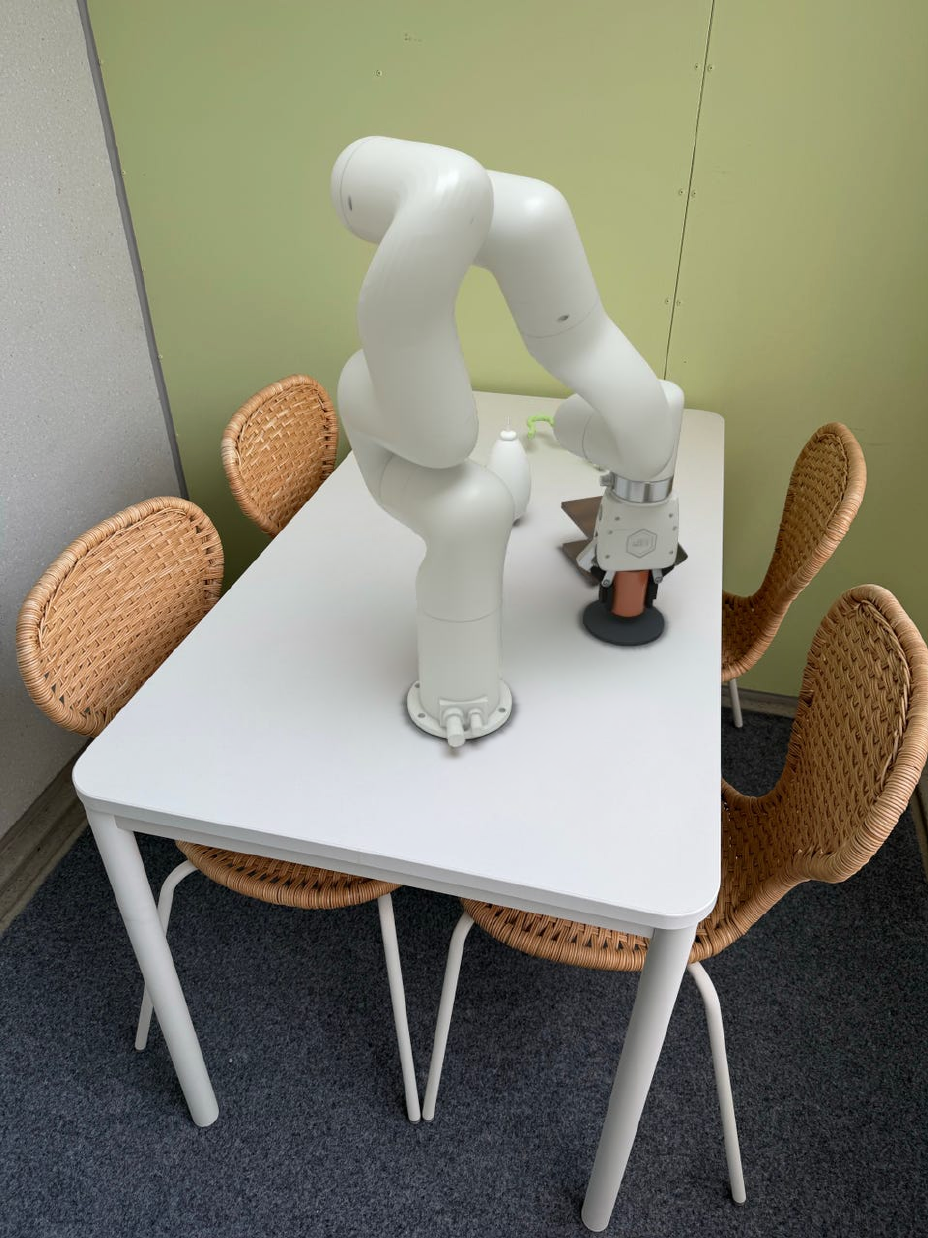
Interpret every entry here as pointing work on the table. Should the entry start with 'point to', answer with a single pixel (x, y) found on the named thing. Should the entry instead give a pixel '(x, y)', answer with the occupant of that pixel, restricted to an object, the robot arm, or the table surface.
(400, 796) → the table surface
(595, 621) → the coaster
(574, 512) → the stand
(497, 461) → the sauce bottle
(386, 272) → the robot arm
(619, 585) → the canister
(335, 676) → the table surface
